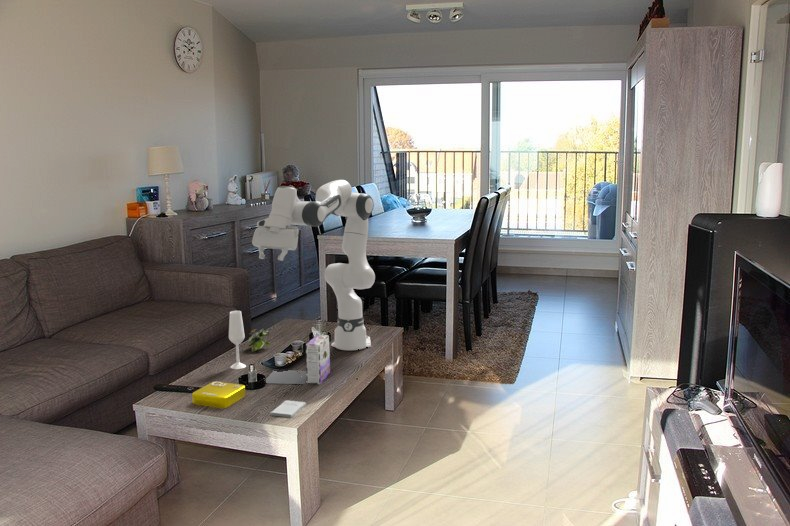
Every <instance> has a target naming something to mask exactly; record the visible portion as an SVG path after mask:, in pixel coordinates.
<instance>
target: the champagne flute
mask: <svg viewBox="0 0 790 526" xmlns="http://www.w3.org/2000/svg"><path fill="white" fill-rule="evenodd" d="M228 322H229V323H228V339H229V341H230V342H231V343H233V344H234V345H235V355H236V362H235V363H233V364H232V365H231V366H230V367H229V368H230V369H231V370H241V369H244V368H246V367H247V365H246V364H244V363H242V362H240V348H239V345H241V344H242V342H243V341H244V340H245V337H246V336H245V329H244V322H243V316H242V310H232V311H230V312H229V321H228Z"/></svg>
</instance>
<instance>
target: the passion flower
mask: <svg viewBox="0 0 790 526" xmlns="http://www.w3.org/2000/svg"><path fill="white" fill-rule="evenodd" d="M257 330H258V329H257V328H256V329H253V330H250V333H249V335H250V337H249V338H248V340H247V344H248V348H249V347H251V352H256V351H257V350H261V349H262V348H263V347H264V346H266V348H267V350H269V347H271V344H270V342H268V341H269V337H270V331H269V330H267V331H265V330H264V328H262V329H259V330H258V331H257ZM266 336H267V338H266V340H264V338H265V337H266Z"/></svg>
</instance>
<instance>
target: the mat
mask: <svg viewBox="0 0 790 526" xmlns="http://www.w3.org/2000/svg"><path fill="white" fill-rule="evenodd" d="M287 370H288V369H287ZM297 371H298V372H297ZM300 372H301V373H300ZM302 372H303V373H302ZM299 373H300V374H299ZM306 374H307V370H290V369H289V370H288V371H283V372H277V371H274V370H272V372H271V373H270V374H269V375H268V376H267V377H266V378H265V380H266V383H267V384H266V385H291V384H303V385H302V386H305V385H306V383H307V382H306V381H307V375H306ZM301 376H302V377H301ZM304 384H305V385H304Z"/></svg>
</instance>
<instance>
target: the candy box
mask: <svg viewBox="0 0 790 526" xmlns="http://www.w3.org/2000/svg"><path fill="white" fill-rule="evenodd" d="M330 357H331V355H330V336H329V334H328V335H326V334H325V335H324V334H316V335H314V336H313V337H312V338H311V339H309V341H308V342H307V343H306V344H305V360H306V361H305V364H306V365H305V367H306V371H307V382H306V383H307V384H308V383H310V384H309V385H321V384H322V383H323V382H324V381H325V380H326V379H327V377H328V376H329V375H330V374H331V358H330Z"/></svg>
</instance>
